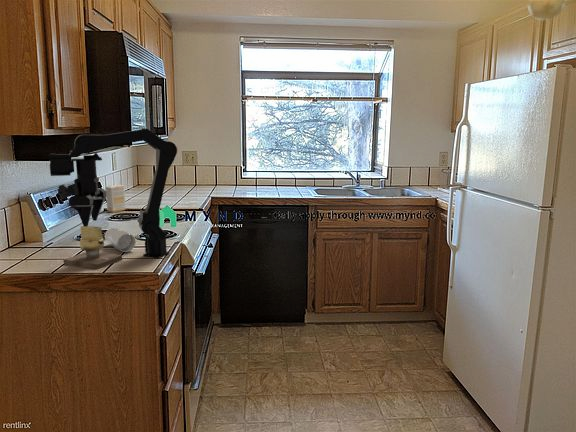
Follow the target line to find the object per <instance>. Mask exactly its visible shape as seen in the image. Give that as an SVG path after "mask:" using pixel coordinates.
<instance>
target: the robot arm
mask: <svg viewBox="0 0 576 432" xmlns="http://www.w3.org/2000/svg"><path fill="white" fill-rule="evenodd" d="M74 139H75V140H74V146H73V148H72V149H71V150H70V151H69V153H64V154H63V153H58V154H57V153H50V154H49V171H50V172H49V173H50V177H61V176H63V177H65V176H70V177H71V175H72V174H73V173H75V167H76V178H75V179H74V182H73V183H72V184H70V185H68V184H66V183H64V184H61V185H58V189H57V195H59V196H60V197H61V200H62V199H63V200H64V199H66V198H67V197H69V198H68V200H67V201H68V206H69V207H70V208H72V209H74V210H75V211H77V214H78V216H79V218H80V220H81V223H82V226H84V227H87V226H89V224H90V219H91V218H92V221H94V222H95V221H97V220H98V218H99V216H100V212H101V209H102V208H103V205H104V203H105V200H106V189H104V188H98V181H100V177H98V176H97V161H102V160H103V158H102V157H101V156H99V154H98V153H97V151H99V150H102V149H105V148H107V147H112V146H119V145H125V144H131V143H137V142H145V144H147V145H149V146H150V147H152V148H153V149H154V150H155V170H154V174H153V175H154V176H153V179H152V183H151V187H150V192H149V197H148V199H147V204H146V205H147V206H145V207H146V208H145V209H144V210H142V209H139V217H138V219H137V223H138V226H139V229H140V230H141V231H142V232H143V233H144V235H146V236H145V241H144V250H145V251H144V252H145V253H143V256H144V257H149V258H157V259H158V258H161V257H163V256H166V255H168V254H170V251H167V233H166V232H165V230H164V229H162V227H160V224H161V223H160V221H161V216H160V208H161V205H162V200H163V199H162V198H163V195H164V190H165V186H166V183H167V178H168V172H169V170H170V168H171V166H172V165H173V163H174V161H175V158H176V157H177V153H178V147H177V146H176V144H175V143H174V142H173V141H168V140H164V139H163V138H162V137H160V136H158V135H157V134H155V133H154V132H152V131H151V130H150V129H149V128H145V127H144V128H139V129H136V130H130V131H123V132H121V131H120V132H116V133H109V134H108V133H107V134H80V135H77V137H76V138H74ZM93 152H94V154H93V155H92V154H91V153H93ZM83 154H86V155H83ZM82 155H83V158H81V157H80V156H82ZM79 157H80V158H79ZM74 162H75V163H74ZM75 164H76V166H75Z"/></svg>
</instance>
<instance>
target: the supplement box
mask: <svg viewBox="0 0 576 432" xmlns="http://www.w3.org/2000/svg"><path fill="white" fill-rule="evenodd" d="M105 191H106V197H105V200H106V208H107V212H108V213H117V212H121V211H126V210H127V209H126V196H125V185H123V184H122V185H119V184H117V185H109V186H105Z"/></svg>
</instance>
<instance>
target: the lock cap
mask: <svg viewBox="0 0 576 432" xmlns="http://www.w3.org/2000/svg"><path fill="white" fill-rule="evenodd" d="M102 231H103V230H102V227H100V226H95V225H88V226H87V227H84V226H83V225H81V226H80V237H81V238H80V239H79V244H80V245H79V246H80V250H81V251H85V252H86V251H94V250H99V251H100V250H103V249H104V248H105V243H104V242H105V241H104V240H105V239H104V237H103V232H102Z"/></svg>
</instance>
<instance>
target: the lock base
mask: <svg viewBox="0 0 576 432" xmlns="http://www.w3.org/2000/svg"><path fill="white" fill-rule="evenodd" d="M62 260H63V265H67V266H68V265H69V266H76V267H81V268H82V267H83V268H88V269H94V270H99V269H101V268H104V267H107V266H109V265H112V264H115V263H118V262H120V261H122V260H123V255H122V254H121V255H120V254H114V253H113V254H112V253H108V252H107V253H106V252H100V249H99V250H94V251H85V252H82V253H79V254H76V255H73V256H70V257H66V258H64V259H62Z"/></svg>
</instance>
